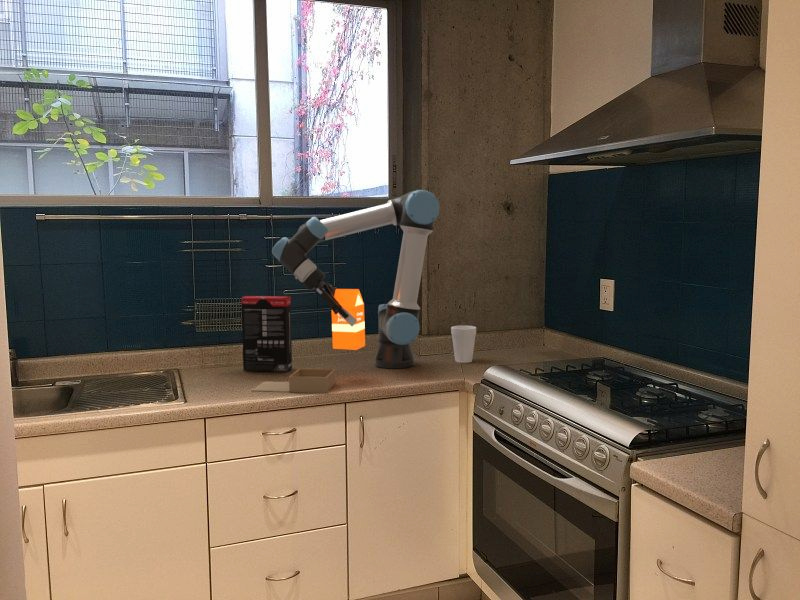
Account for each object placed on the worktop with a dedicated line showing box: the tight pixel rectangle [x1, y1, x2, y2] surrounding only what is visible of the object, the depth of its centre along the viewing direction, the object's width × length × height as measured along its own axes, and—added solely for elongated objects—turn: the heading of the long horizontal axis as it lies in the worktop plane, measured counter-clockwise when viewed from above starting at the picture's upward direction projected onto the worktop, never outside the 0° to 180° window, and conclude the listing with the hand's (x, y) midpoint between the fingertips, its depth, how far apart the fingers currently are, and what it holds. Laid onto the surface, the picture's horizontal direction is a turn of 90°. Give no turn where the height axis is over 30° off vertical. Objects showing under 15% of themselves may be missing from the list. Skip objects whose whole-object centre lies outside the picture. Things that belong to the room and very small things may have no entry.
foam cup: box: [450, 325, 477, 364], centre depth 264 cm, size 10×9×13 cm
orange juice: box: [331, 288, 366, 351], centre depth 235 cm, size 8×9×20 cm
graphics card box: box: [240, 295, 293, 373], centre depth 251 cm, size 17×7×27 cm, turn 84°
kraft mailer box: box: [251, 368, 337, 394], centre depth 226 cm, size 25×12×5 cm, turn 82°
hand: (357, 321), depth 235 cm, fingers closed on orange juice, 9 cm apart
